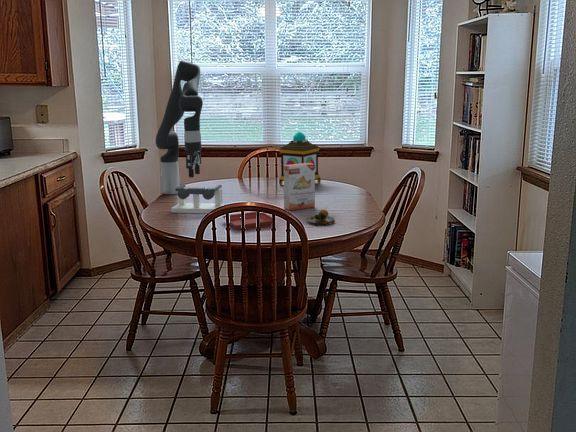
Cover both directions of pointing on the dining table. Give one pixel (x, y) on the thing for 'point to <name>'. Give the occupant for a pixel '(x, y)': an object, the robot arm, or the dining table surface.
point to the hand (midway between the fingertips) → (194, 175)
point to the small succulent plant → (321, 218)
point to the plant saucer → (250, 220)
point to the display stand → (198, 204)
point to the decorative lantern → (299, 154)
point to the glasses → (196, 191)
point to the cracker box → (299, 186)
